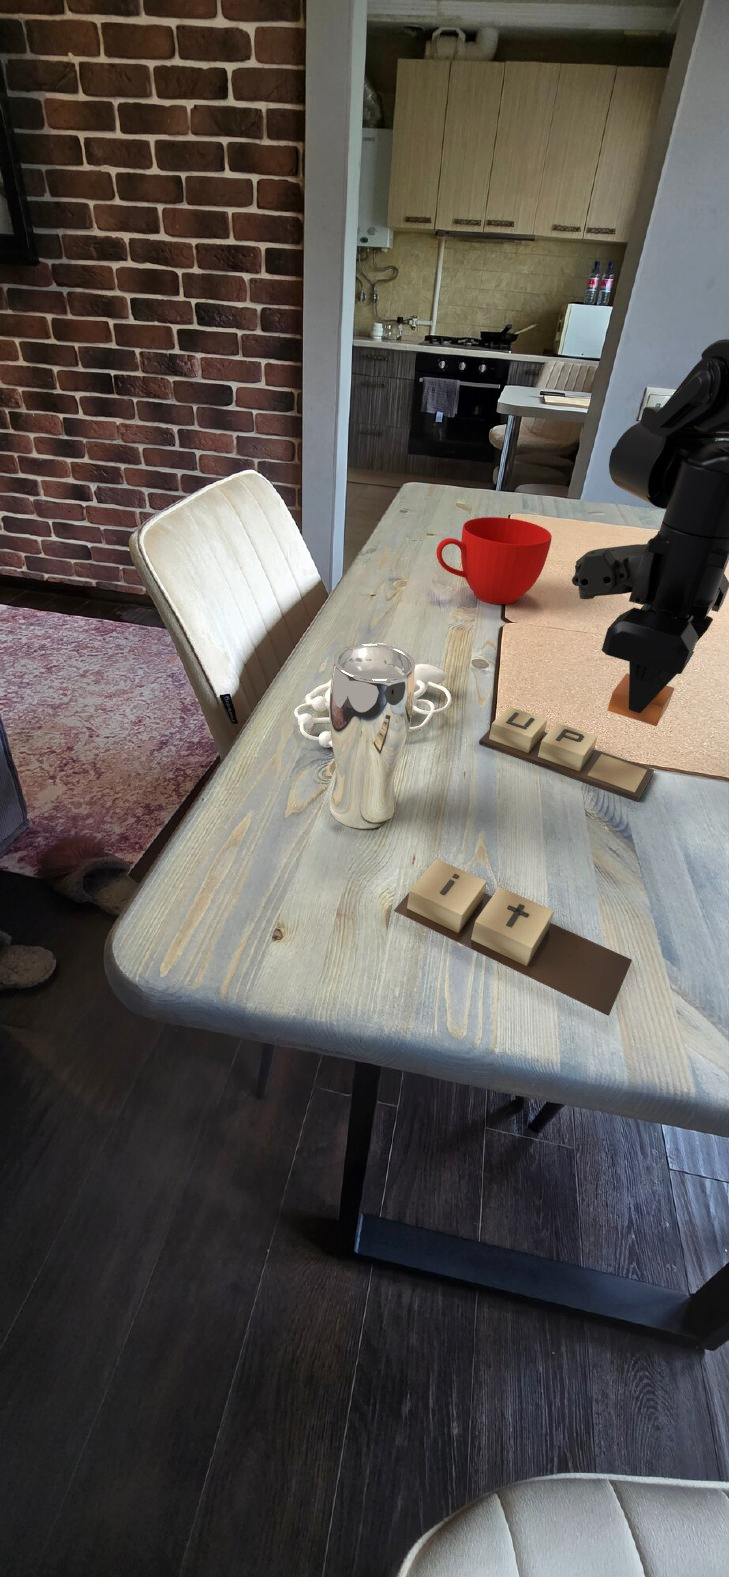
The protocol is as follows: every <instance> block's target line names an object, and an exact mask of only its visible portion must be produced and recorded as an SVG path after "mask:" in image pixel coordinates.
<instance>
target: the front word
mask: <svg viewBox="0 0 729 1577" xmlns="http://www.w3.org/2000/svg"><path fill="white" fill-rule="evenodd" d="M487 884H488V881H487V880H485V879H483V878H481V877H478V876H476V875H475V874H472V873H470V872H467V871H466V870H463V869H461V868H458V867H457V866H455V865H451V864H450V863H447V862H445V861H442V860H441V859H438V858H436V859H434V860H433V862H432V863H431V864H430V865H429V866H428V868H427V869H426V870H425V871H424V873H423V874H422V875H421V876H420V877H419V878H418V880H417V881H416V882H415V883H414V884H413V886H412V887H411V888H410V889H409V892H408V893H407V894H406V895H405V896H404V898H402V900H401V901H400V902H399V903H398V905H396V907H395V908H394V910H393V912H394V913H397V914H399V915H401V916H403V917H405V918H407V919H409V920H411V921H413V922H415V923H417V924H419V925H422V926H424V927H425V928H428V929H430V930H431V931H434V932H436V933H438V934H440V935H442V936H443V937H446V938H447V939H450V940H452V941H455V942H456V943H458V944H460V945H462V946H464V947H466V948H469V949H471V950H473V951H474V952H476V953H479V954H481V955H483V956H485V957H487V958H489V959H491V960H493V961H494V962H497V963H499V964H501V965H503V966H505V967H508V968H509V969H511V970H513V971H516V972H518V973H520V974H522V975H524V976H526V977H527V978H530V979H532V980H534V981H536V982H538V983H540V984H542V985H544V986H546V987H548V988H550V989H552V990H555V991H557V992H558V993H561V994H562V995H565V996H567V997H569V998H571V999H573V1000H575V1001H577V1002H579V1003H581V1004H583V1005H585V1006H587V1007H590V1008H591V1009H593V1010H596V1011H597V1012H600V1013H602V1014H603V1015H605V1016H608V1017H609V1016H610V1014H611V1011H612V1009H613V1006H614V1004H615V1001H616V999H617V997H618V995H619V992H620V990H621V988H622V985H623V982H624V980H625V977H626V976H627V973H628V971H629V968H630V966H631V964H632V961H633V960H632V958H630V957H627V956H625V955H622V954H621V953H619V952H617V951H614V950H612V949H609V948H608V947H605V946H603V945H601V944H599V943H596V942H594V941H592V940H590V939H587V938H585V937H583V936H581V935H579V934H576V933H574V932H572V931H569V930H567V929H565V928H563V927H561V926H558V925H557V924H554V923H552V920H553V918H554V917H553V916H554V913H555V911H554V910H553V909H551V908H549V907H546V906H544V905H542V904H540V903H537V902H535V901H533V900H530V899H528V898H526V897H524V896H522V895H519V894H517V893H516V892H513V891H511V890H509V889H505V888H503V887H501V886H499V887H497V889H496V891H495V892H494V894H493V895H491V894H488V893H485V892H486V888H487Z"/></svg>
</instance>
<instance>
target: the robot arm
mask: <svg viewBox="0 0 729 1577" xmlns="http://www.w3.org/2000/svg"><path fill="white" fill-rule="evenodd" d="M700 356H701V359H700V360H699V361H698V362H697V363H696V364H695V365H694V366H693V368H692V369H691V370H690V371H689V373H687V375H686V376H685V378H684V379H683V381H682V382H681V383H680V385H679V386H678V387H677V388H676V390H675V391H674V392H673V393H672V395H671V396H670V397H669V399H668V400H667V401H666V403H665V404H664V405H663V406H645V407H643V410H642V413H641V417H640V421H638V422H637V423H635V424H633V425H632V426H630V427H629V428H628V429H627V430H625V432H623V434H622V435H621V436H620V437H619V439H618V440H617V442H616V444H615V446H613V447H612V449H611V451H610V455H609V461H608V471H609V472H608V473H609V475H610V476H609V477H610V478H611V480H612V482H613V483H614V485H616V486H617V487H618V488H619V489H621V490H623V491H624V492H627V493H629V494H631V495H633V496H634V497H637V498H639V499H640V500H642V501H645V502H647V503H648V504H651V505H652V506H654V507H656V508H659V509H665V512H664V515H663V519H662V521H661V524H660V527H659V530H658V531H657V533H656V534H655V536H653V537H651V538H650V539H649V540H648V541H647V543H643V544H641V543H639V544H636V543H635V544H627V545H619V546H611V547H603V548H597V549H592V550H589V551H587V552H586V553H584V554H583V555H582V556H581V557H580V558H578V559H577V560H576V561H575V565H574V569H575V570H574V575H573V576H572V578H571V583H572V585H574V586H575V587H578V597H579V599H581V600H592V599H594V598H595V597H603V596H613V595H614V596H615V595H624V594H629V593H630V595H629V598H628V602H629V603H633V604H637V605H641V608H638V607H632V608H630V609H628V610H627V611H626V610H625V612H623V613H621V614H619V615H618V616H617V618H615V620H614V621H613V622H612V623H611V624H610V625H609V626H608V627H607V630H606V634H605V636H604V639H603V643H602V648H601V652H603V653H604V654H605V655H606V656H608V657H612V658H615V659H619V660H622V661H626V662H628V670H629V671H628V672H629V673H628V674H629V710H631V711H634V712H637V713H641V712H642V711H643V710H644V709H645V708H646V707H647V706H648V705H649V703H650V702H651V701H652V700H653V699H654V698H655V697H656V696H657V695H658V694H659V693H660V692H661V690H662V689H663V688H664V687H665V686H666V685H667V686H668V684H669V683H670V682H671V681H672V680H673V679H674V678H675V677H676V676H677V675H682V674H683V672H684V671H685V669H686V667H687V665H688V664H689V662H690V660H691V659H692V657H693V655H694V653H695V651H694V650H695V648H696V644H697V643H698V642H699V641H700V639H701V638H703V636H704V634H706V632H707V631H708V630H709V628H710V627H711V625H712V623H713V621H714V618H713V617H712V616H709V613H710V611H713V612H716V613H719V611H720V610H721V608H722V606H723V604H724V602H725V599H726V596H727V594H728V591H729V580H728V577H727V576H726V574H725V572H726V569H727V566H728V563H729V338H727V339H725V338H724V339H719V340H717V341H715V342H712V343H710V345H708V346H707V347H706V348H705V349H704V350H703V351H702V353H701V355H700ZM716 439H720V440H716ZM721 439H722V440H721Z"/></svg>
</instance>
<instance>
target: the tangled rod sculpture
mask: <svg viewBox="0 0 729 1577" xmlns="http://www.w3.org/2000/svg"><path fill="white" fill-rule="evenodd" d="M375 644H382V645H387V644H386V643H383V642H376V643H375ZM446 679H447V674H446V672H445V671H444V670H441V669H440V668H438V667H436V666H434V665H432V664H428V663H418V664H416V663H415V674H414V701H413V711H412V715H413V714H414V713H417V714H420V715H424V716H426V717H425V719H424V721H423V722H422V723H421V724H419V725H417V726H410V728H409V732H418V731H421V730H423V729H424V728H425V727H426V726H427V725H428V723H429V722H430V721H431V719H432V718H433V716H434V715H438V714H442V713H444V712H447V711H448V709H449V708H450V707H451V705H452V700H453V698H452V695H451V693H450V691H449V690H448V689H447V687H445V686H443V685H440V684H442V683H443V682H444V681H445V680H446ZM331 681H332V678H331V679H330V680H329V681H327V683H324V684H321V685H319V686H317V687H315V688H314V689H313V690H312V691H311V692H308V693H307V694H306V695H305V699H304V700H305V703H302V704H300V705H299V706H297V707H295V709H294V712H293V713H294V717H295V718H296V719H297V724H298V727H299V731H300V733H301V735H302V736H303V737H304V738H306V739H309V740H311V741H315V742H318V744H319V745H320V746H321V747H322V748H324V749H325V748H326V749H329V748H332V749H333V747H332V740H331V733H330V730H329V731H328V730H325V731H322V732H320V734H319V736H314V735H311V734H309V733H307V732H306V731H305V730H310V729H312V728H313V727H314V725H315V724H330V722H329V716H328V717H313V715H312V714H310V713H308V712H306V713H305V712H304V713H301V714H299V712H300V711H302V710H303V709H305V708H307V707H312V708H313V710H314V711H316V712H318V713H321V712H322V713H323V712H324V711H326V710H327V711H328V712H329V701H330V689H331ZM430 687H431V688H434V689H437V690H440V691H442V692H443V693H444V694H445V695H446V697H447V701H446V704H445V705H444V706H443V707H440V708H437V709H436V707H435V704H434V703H433V702H432V701H430V700H428V699H419V698H420V697H422V696H424V694H426V691H427V689H428V688H430ZM323 692H325V694H324V696H323V695H320V694H321V693H323ZM421 704H423V705H427V706H428V707H430V710H425V709H421V708H419V707H417V706H418V705H421Z"/></svg>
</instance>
